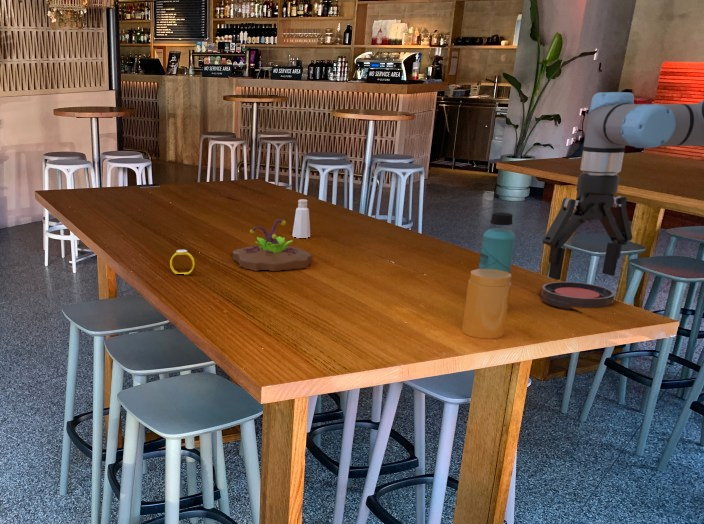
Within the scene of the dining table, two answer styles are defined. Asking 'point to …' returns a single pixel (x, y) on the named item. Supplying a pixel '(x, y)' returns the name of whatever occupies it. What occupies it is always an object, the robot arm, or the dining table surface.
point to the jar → (486, 303)
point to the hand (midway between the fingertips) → (581, 276)
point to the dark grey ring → (562, 300)
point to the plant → (272, 253)
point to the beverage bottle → (498, 244)
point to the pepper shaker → (301, 220)
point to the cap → (577, 292)
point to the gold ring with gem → (182, 252)
